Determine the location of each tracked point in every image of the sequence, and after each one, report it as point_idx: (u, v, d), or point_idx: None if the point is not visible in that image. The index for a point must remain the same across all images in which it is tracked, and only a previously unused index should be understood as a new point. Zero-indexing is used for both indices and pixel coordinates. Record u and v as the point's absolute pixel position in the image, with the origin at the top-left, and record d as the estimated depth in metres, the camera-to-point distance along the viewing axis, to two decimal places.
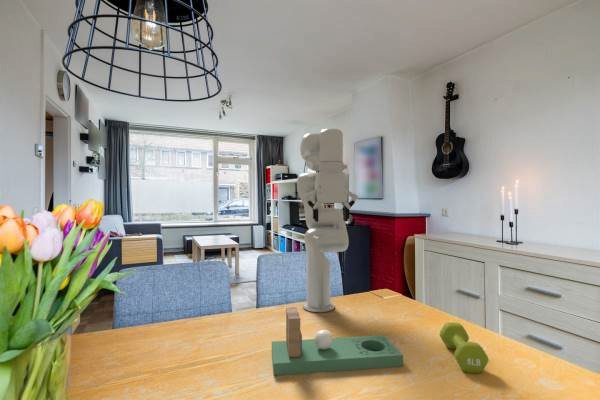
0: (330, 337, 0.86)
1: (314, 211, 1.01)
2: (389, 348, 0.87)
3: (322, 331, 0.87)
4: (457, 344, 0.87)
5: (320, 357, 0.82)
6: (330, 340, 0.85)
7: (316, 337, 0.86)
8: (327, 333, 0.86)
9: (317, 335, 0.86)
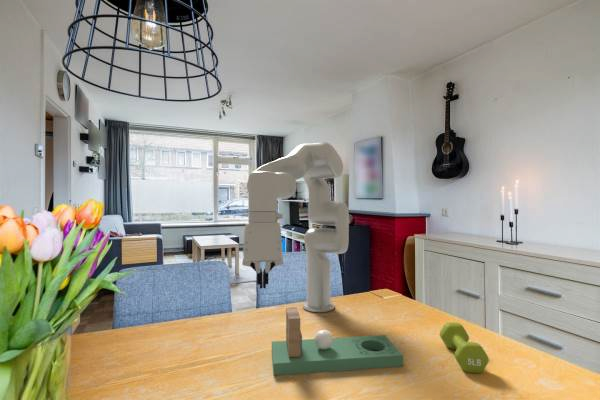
0: (330, 337, 0.86)
1: (258, 275, 0.84)
2: (389, 348, 0.87)
3: (322, 331, 0.87)
4: (457, 344, 0.87)
5: (320, 357, 0.82)
6: (330, 340, 0.85)
7: (316, 337, 0.86)
8: (327, 333, 0.86)
9: (317, 335, 0.86)
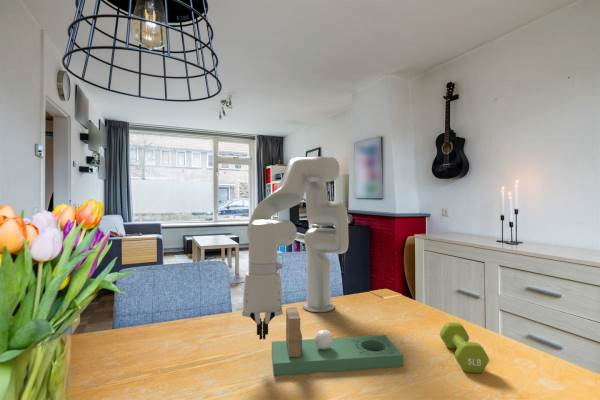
0: (330, 337, 0.86)
1: (257, 326, 0.84)
2: (389, 348, 0.87)
3: (322, 331, 0.87)
4: (457, 344, 0.87)
5: (320, 357, 0.82)
6: (330, 340, 0.85)
7: (316, 337, 0.86)
8: (327, 333, 0.86)
9: (317, 335, 0.86)
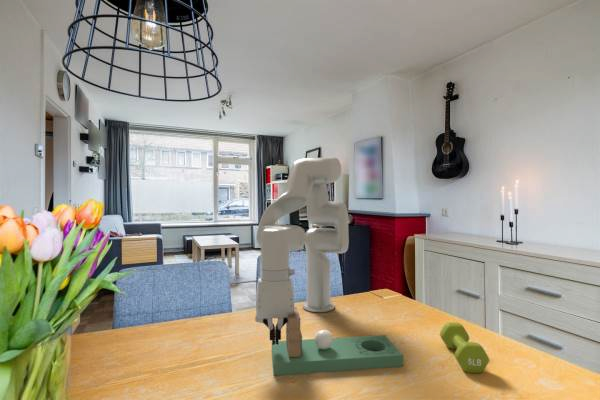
0: (330, 337, 0.86)
1: (270, 331, 0.85)
2: (389, 348, 0.87)
3: (322, 331, 0.87)
4: (458, 344, 0.87)
5: (320, 357, 0.82)
6: (330, 340, 0.85)
7: (316, 337, 0.86)
8: (327, 333, 0.86)
9: (317, 335, 0.86)
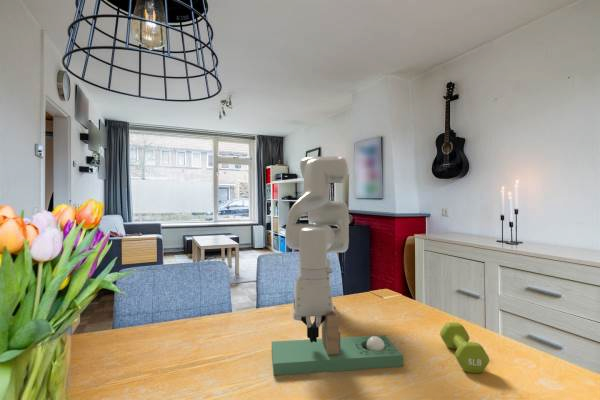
0: (382, 343, 0.88)
1: (308, 329, 0.86)
2: (389, 348, 0.87)
3: (373, 338, 0.89)
4: (458, 344, 0.87)
5: (320, 357, 0.82)
6: (383, 346, 0.87)
7: (368, 345, 0.88)
8: (378, 339, 0.88)
9: (369, 343, 0.88)
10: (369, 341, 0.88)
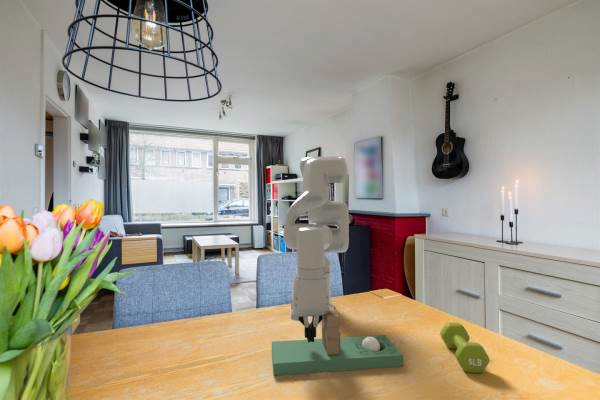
0: (374, 342, 0.87)
1: (306, 329, 0.86)
2: (389, 348, 0.87)
3: (364, 341, 0.88)
4: (458, 344, 0.87)
5: (320, 357, 0.82)
6: (376, 344, 0.87)
7: None
8: (369, 340, 0.88)
9: (363, 347, 0.88)
10: (362, 346, 0.88)
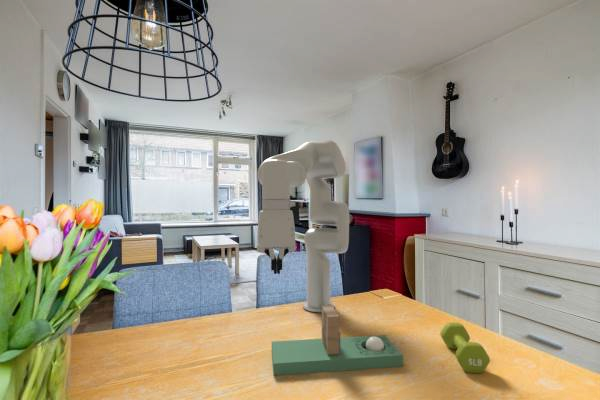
0: (381, 343, 0.88)
1: (272, 261, 0.86)
2: (389, 348, 0.87)
3: (372, 338, 0.89)
4: (458, 344, 0.87)
5: (320, 357, 0.82)
6: (382, 346, 0.87)
7: (367, 345, 0.88)
8: (377, 340, 0.88)
9: (368, 343, 0.88)
10: (368, 341, 0.88)
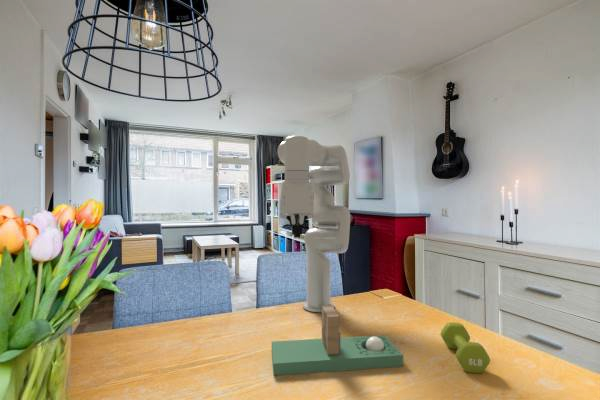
0: (381, 343, 0.88)
1: (293, 226, 0.97)
2: (389, 348, 0.87)
3: (372, 338, 0.89)
4: (458, 344, 0.87)
5: (320, 357, 0.82)
6: (382, 346, 0.87)
7: (367, 345, 0.88)
8: (378, 340, 0.88)
9: (368, 343, 0.88)
10: (368, 341, 0.88)
